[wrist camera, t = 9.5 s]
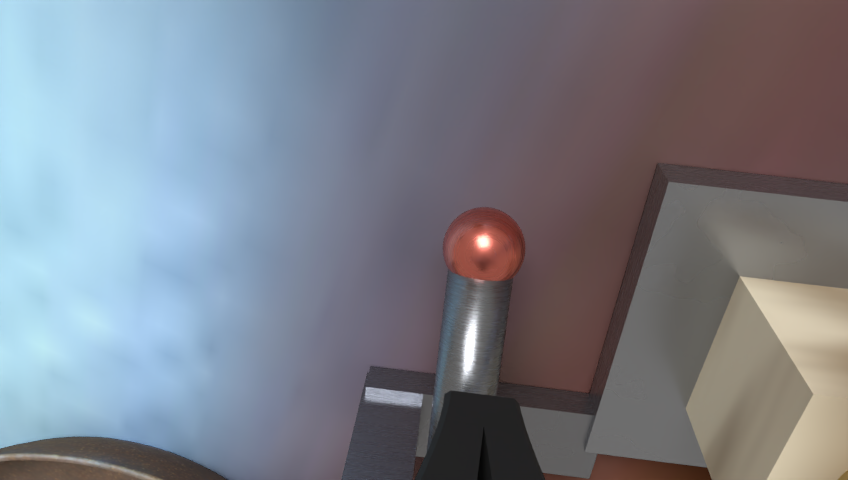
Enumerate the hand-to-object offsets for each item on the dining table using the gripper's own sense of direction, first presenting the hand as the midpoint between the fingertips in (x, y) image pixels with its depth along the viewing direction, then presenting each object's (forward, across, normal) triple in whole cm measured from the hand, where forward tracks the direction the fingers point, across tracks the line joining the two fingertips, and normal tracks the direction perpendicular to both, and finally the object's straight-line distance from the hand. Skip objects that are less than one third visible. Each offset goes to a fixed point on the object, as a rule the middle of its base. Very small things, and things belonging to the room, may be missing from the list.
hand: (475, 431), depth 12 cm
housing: (+6, -10, +2) cm, 12 cm away
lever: (+4, 0, +3) cm, 5 cm away
